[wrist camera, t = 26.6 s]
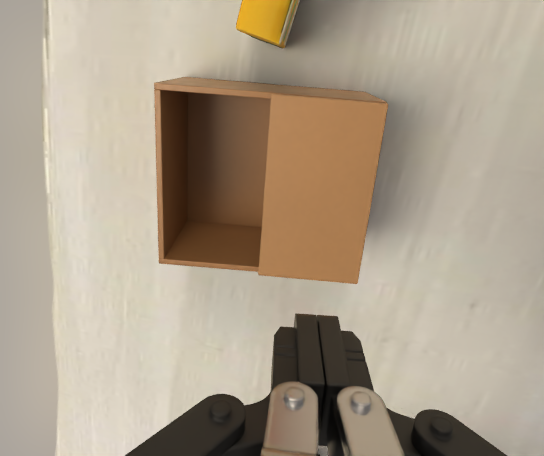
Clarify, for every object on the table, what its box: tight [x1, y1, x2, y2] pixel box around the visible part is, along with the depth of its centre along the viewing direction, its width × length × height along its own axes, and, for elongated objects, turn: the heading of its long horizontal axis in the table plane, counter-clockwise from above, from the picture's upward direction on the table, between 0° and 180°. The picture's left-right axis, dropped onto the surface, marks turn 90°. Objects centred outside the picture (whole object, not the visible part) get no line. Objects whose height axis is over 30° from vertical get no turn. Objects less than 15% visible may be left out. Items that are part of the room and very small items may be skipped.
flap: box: [258, 94, 388, 284], centre depth 29 cm, size 7×13×1 cm, turn 176°
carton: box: [154, 77, 387, 272], centre depth 33 cm, size 15×13×8 cm
